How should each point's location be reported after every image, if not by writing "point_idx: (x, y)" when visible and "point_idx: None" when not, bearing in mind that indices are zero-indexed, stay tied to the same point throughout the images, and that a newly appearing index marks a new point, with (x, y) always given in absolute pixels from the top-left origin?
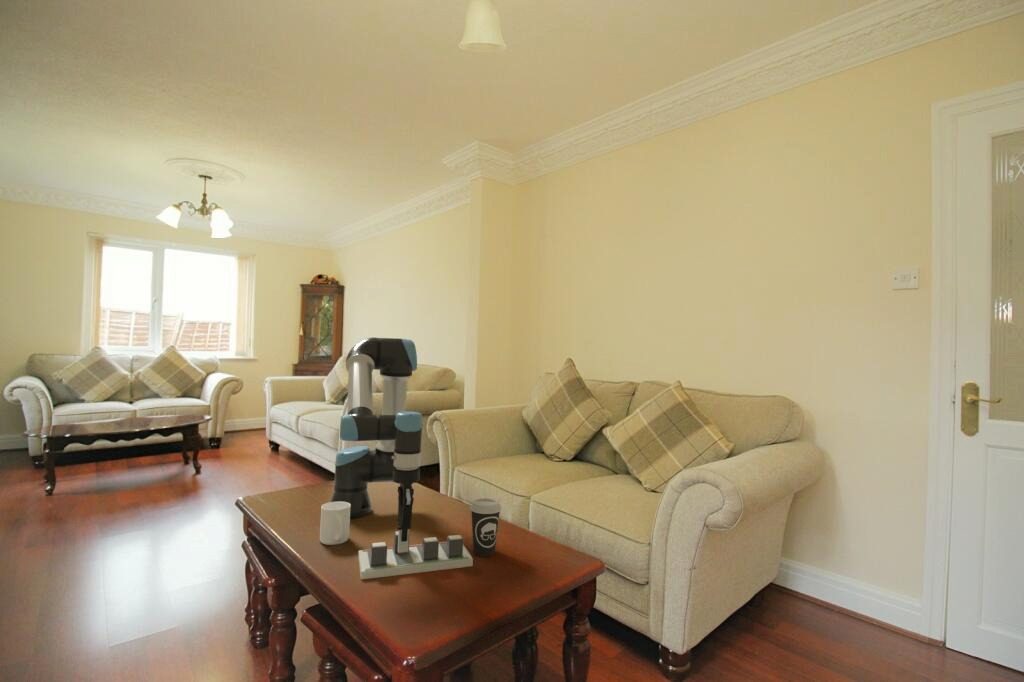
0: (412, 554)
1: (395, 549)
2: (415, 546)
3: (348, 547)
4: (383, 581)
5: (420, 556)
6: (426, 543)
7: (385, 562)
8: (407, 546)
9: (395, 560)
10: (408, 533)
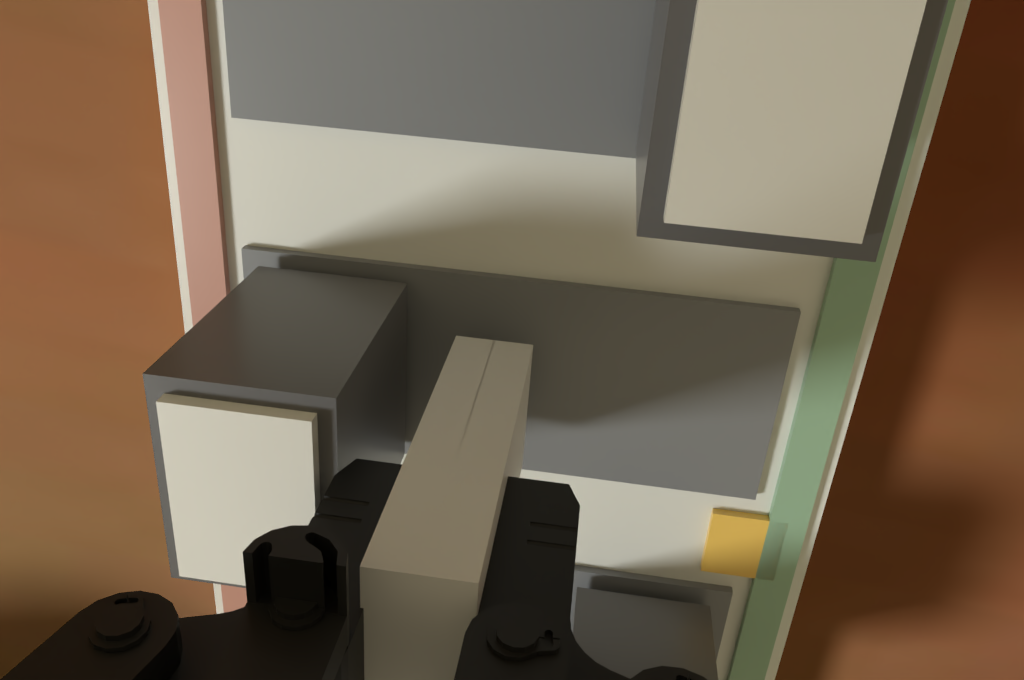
0: (501, 246)
1: (395, 463)
2: (224, 129)
3: (8, 667)
4: (876, 591)
5: (612, 157)
6: (882, 213)
7: (706, 623)
8: (523, 395)
9: (609, 477)
10: (491, 518)
